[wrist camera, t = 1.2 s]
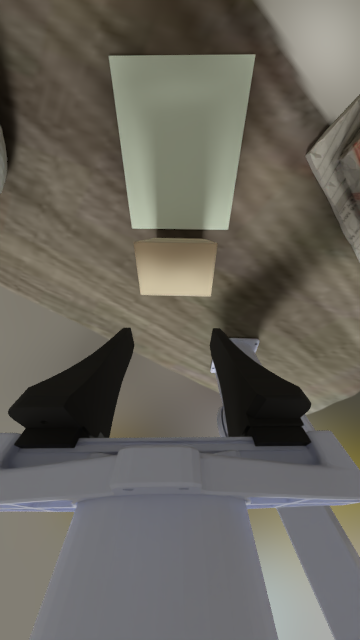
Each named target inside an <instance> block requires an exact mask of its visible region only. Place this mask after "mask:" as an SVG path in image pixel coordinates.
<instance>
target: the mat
mask: <svg viewBox="0 0 360 640" xmlns="http://www.w3.org/2000/svg"><path fill="white" fill-rule="evenodd" d="M254 61H255V54H247V55H142V56H109V62H110V69H111V77H112V84H113V91H114V99H115V106H116V113H117V121H118V128H119V135H120V143H121V150H122V157H123V165H124V172H125V179H126V187H127V194H128V201H129V209H130V216H131V223H132V228H135V229H208V230H228V226H229V219H230V213H231V207H232V200H233V194H234V188H235V181H236V175H237V169H238V162H239V156H240V150H241V143H242V137H243V131H244V124H245V118H246V111H247V105H248V99H249V92H250V86H251V80H252V73H253V67H254Z"/></svg>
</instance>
